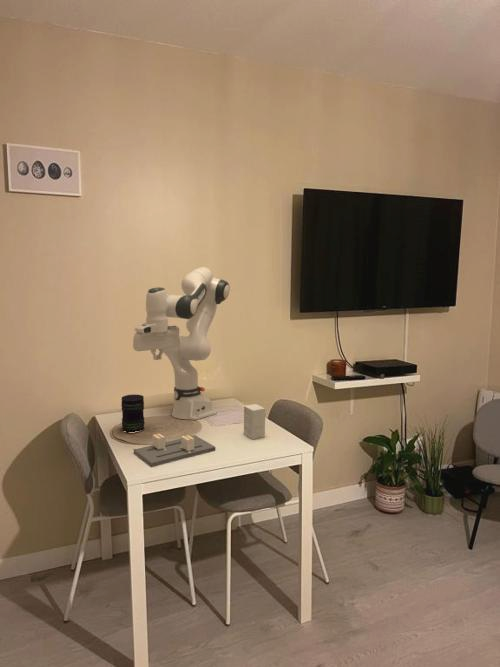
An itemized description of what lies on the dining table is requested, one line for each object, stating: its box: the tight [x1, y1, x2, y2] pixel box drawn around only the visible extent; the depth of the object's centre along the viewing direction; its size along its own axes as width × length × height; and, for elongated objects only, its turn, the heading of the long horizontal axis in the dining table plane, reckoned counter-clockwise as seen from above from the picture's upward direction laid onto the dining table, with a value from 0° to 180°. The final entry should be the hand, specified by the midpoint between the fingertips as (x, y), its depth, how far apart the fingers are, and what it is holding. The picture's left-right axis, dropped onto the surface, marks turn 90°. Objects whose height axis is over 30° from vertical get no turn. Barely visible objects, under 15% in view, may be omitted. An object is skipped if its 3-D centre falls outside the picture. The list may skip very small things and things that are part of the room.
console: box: [133, 435, 216, 468], centre depth 199 cm, size 28×16×2 cm, turn 127°
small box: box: [243, 403, 266, 440], centre depth 217 cm, size 8×6×13 cm
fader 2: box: [180, 434, 194, 451], centre depth 197 cm, size 3×5×5 cm, turn 37°
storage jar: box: [121, 394, 145, 432], centre depth 223 cm, size 10×10×15 cm
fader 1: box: [152, 433, 166, 450], centre depth 199 cm, size 3×5×5 cm, turn 37°
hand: (157, 359), depth 210 cm, fingers closed
